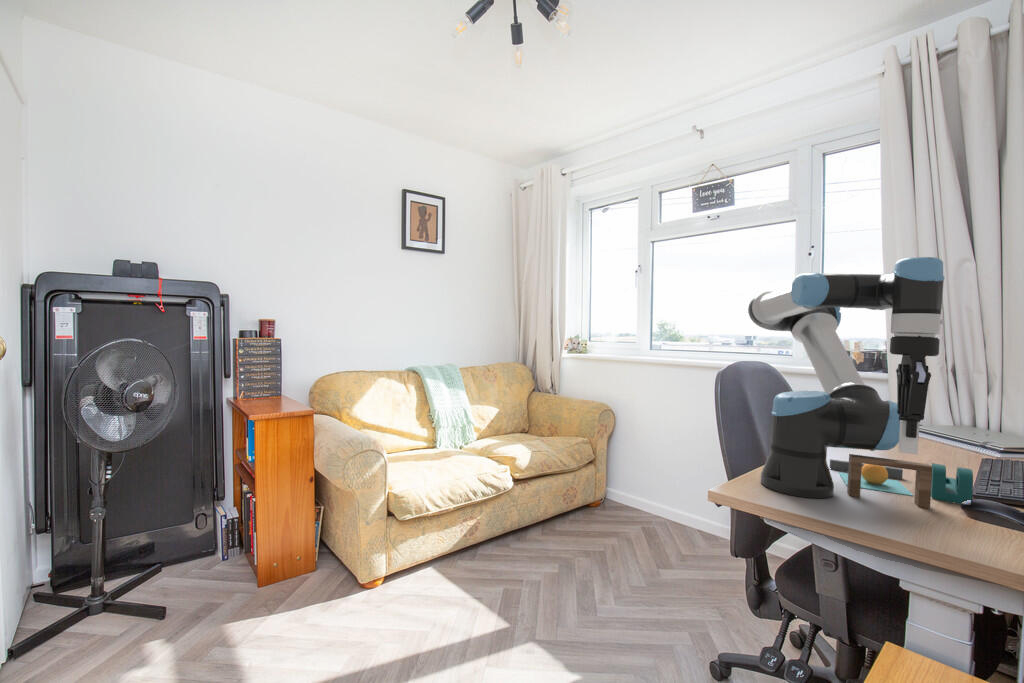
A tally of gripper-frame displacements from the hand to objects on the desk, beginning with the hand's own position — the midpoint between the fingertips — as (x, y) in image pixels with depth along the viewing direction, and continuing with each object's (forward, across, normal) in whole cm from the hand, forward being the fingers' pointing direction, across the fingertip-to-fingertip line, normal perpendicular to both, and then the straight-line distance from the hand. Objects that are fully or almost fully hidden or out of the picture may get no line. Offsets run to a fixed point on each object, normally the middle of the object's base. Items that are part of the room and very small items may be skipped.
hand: (907, 452), depth 95 cm
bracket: (+14, +30, -15) cm, 37 cm away
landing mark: (+14, +28, 0) cm, 31 cm away
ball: (+11, +28, 0) cm, 30 cm away
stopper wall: (+14, +38, 0) cm, 41 cm away
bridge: (+14, +14, 0) cm, 20 cm away
